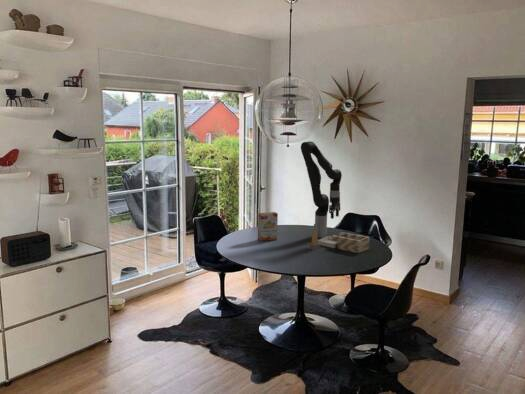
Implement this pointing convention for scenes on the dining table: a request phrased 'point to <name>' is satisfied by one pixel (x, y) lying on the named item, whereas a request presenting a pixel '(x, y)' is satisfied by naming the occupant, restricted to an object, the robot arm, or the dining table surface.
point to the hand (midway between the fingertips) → (334, 217)
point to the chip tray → (327, 242)
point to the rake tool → (314, 242)
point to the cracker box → (267, 226)
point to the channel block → (352, 243)
